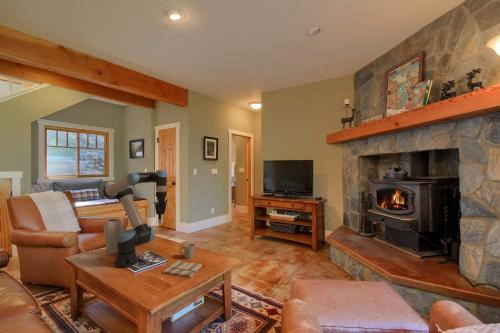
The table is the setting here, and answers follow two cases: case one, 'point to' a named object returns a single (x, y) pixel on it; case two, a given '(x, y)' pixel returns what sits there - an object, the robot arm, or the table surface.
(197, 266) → the plank
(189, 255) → the mug
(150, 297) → the table surface
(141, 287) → the table surface
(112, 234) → the vase
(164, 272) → the laid row
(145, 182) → the robot arm
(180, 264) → the plank
